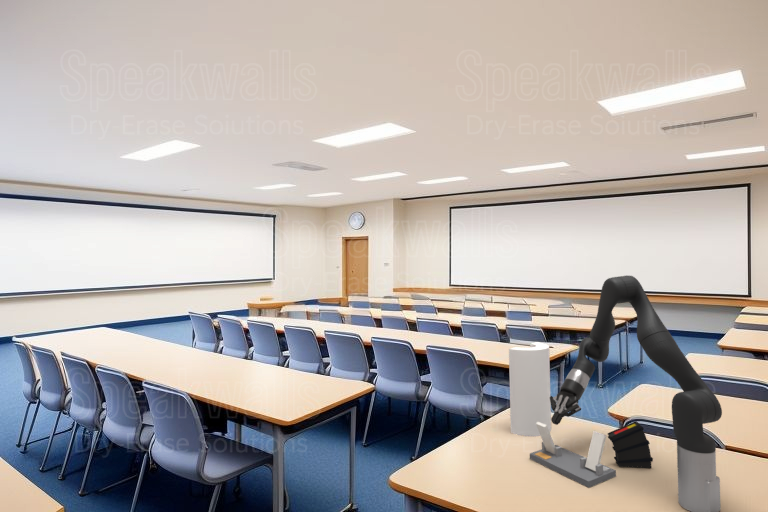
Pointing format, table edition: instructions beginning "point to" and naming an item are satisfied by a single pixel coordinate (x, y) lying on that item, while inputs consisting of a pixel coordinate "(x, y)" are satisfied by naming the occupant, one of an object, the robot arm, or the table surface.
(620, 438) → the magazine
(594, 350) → the robot arm
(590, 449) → the inner lever
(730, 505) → the table surface
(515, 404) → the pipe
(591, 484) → the switch panel
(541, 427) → the outer lever
